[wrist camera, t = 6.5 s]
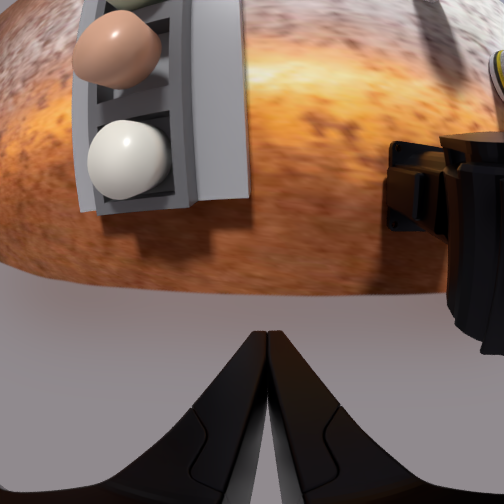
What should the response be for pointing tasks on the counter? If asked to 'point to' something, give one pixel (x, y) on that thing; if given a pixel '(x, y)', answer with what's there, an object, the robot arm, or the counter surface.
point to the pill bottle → (497, 71)
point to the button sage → (132, 4)
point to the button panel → (175, 106)
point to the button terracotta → (116, 51)
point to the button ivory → (128, 159)
